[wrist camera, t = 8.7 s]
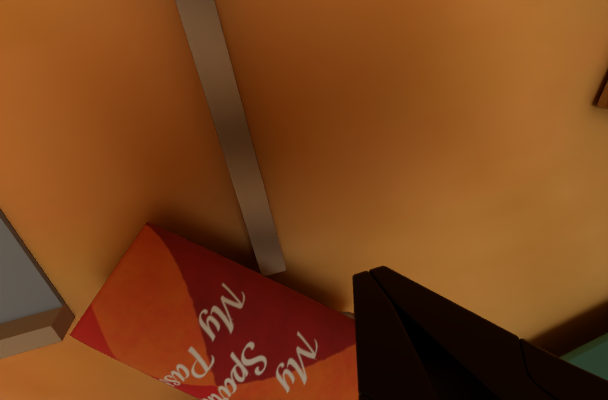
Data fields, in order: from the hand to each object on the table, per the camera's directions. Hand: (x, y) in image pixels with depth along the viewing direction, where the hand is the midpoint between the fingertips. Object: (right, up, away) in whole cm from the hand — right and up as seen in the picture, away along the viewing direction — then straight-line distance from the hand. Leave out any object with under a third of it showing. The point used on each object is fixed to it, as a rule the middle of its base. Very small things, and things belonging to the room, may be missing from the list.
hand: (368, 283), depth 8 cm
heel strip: (-5, +5, +9) cm, 12 cm away
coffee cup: (-11, -1, +8) cm, 14 cm away
